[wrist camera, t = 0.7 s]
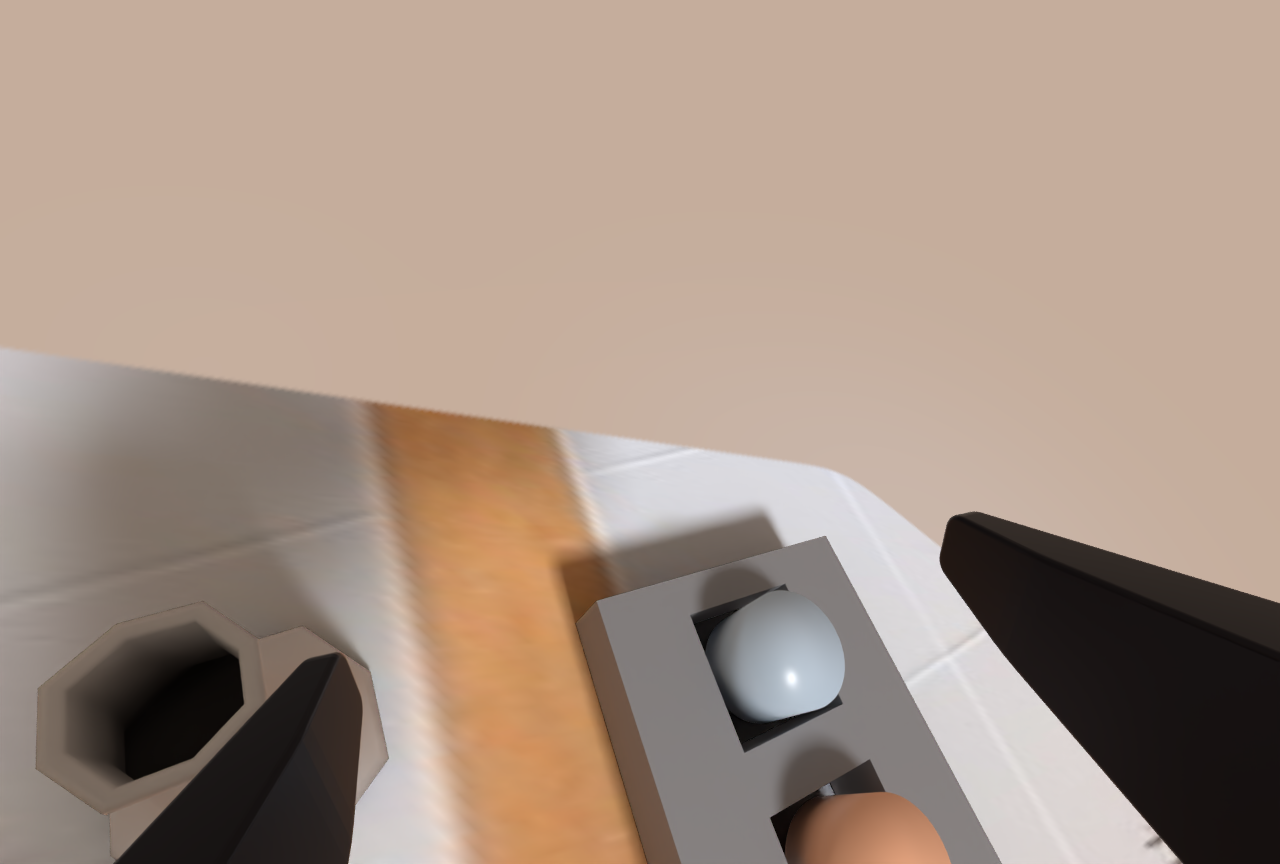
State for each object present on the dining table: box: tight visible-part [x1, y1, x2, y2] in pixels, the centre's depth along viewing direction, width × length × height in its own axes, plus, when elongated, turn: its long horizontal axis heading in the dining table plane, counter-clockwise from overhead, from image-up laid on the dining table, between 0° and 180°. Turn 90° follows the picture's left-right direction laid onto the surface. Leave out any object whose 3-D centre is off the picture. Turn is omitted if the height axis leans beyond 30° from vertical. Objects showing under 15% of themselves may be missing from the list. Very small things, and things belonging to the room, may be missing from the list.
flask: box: [36, 601, 389, 860], centre depth 14 cm, size 7×7×10 cm
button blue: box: [705, 590, 845, 724], centre depth 21 cm, size 4×4×3 cm
